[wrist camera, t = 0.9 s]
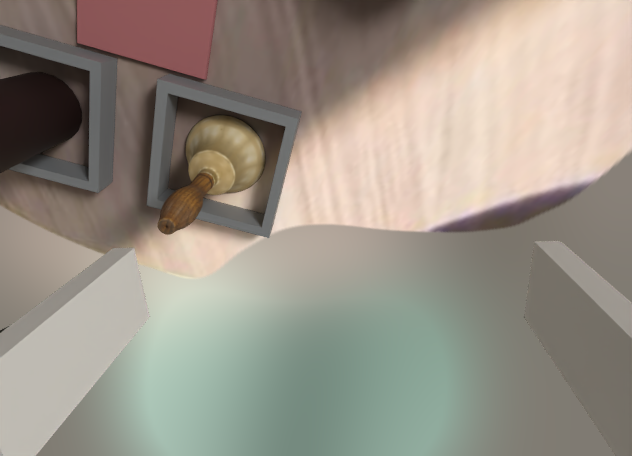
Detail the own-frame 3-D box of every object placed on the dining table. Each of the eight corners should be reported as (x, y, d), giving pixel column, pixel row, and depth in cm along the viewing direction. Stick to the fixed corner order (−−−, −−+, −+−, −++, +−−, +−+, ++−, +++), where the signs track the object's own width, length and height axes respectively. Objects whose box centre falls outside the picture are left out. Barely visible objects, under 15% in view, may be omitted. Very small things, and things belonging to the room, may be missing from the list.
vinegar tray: (-24, 18, 39) (-51, 19, 37) (117, 58, 40) (101, 62, 38) (-10, 149, 45) (-32, 158, 43) (112, 181, 46) (98, 192, 44)
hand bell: (204, 199, 47) (143, 285, 33) (172, 126, 43) (89, 188, 29) (276, 182, 45) (244, 264, 31) (249, 105, 42) (200, 159, 28)
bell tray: (169, 73, 41) (157, 78, 38) (301, 111, 41) (298, 119, 39) (158, 194, 47) (146, 205, 44) (273, 224, 48) (268, 237, 45)
